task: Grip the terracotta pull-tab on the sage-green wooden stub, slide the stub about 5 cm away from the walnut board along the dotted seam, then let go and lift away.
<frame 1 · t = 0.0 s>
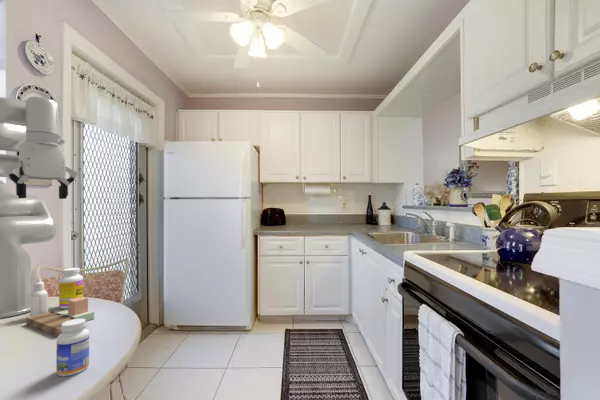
hand: (43, 198, 88), 37 cm above the table, tool pointing down, fingers open, 9 cm apart
eye dropper bottle: (39, 318, 93), on the table
pill bottle: (73, 370, 61), on the table
stub: (78, 309, 90), point 3 cm above the table, slide at 0.0 cm
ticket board: (55, 326, 85), on the table
supplement bottle: (71, 306, 103), on the table
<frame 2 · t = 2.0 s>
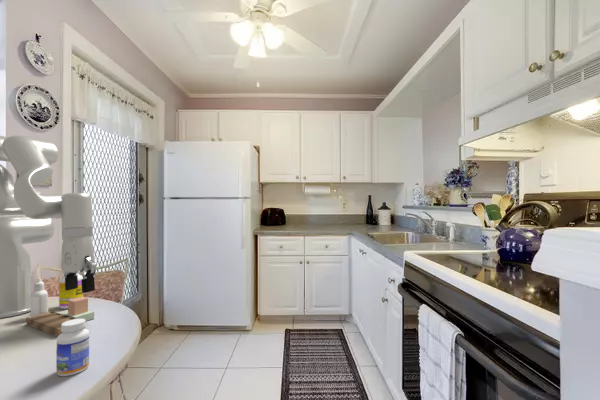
hand: (79, 290, 90), 9 cm above the table, tool pointing down, fingers open, 9 cm apart
nothing on the table moved.
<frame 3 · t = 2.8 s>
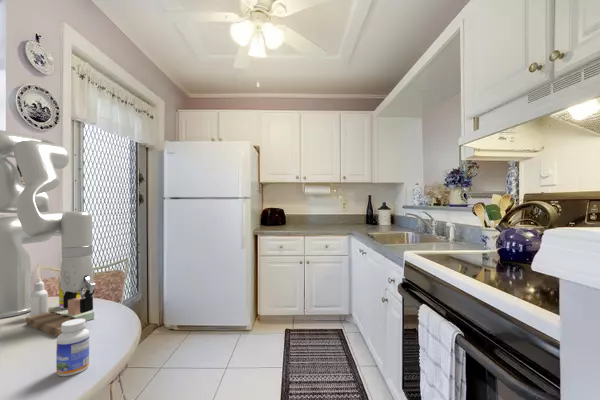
hand: (78, 309, 90), 3 cm above the table, tool pointing down, fingers open, 9 cm apart
nothing on the table moved.
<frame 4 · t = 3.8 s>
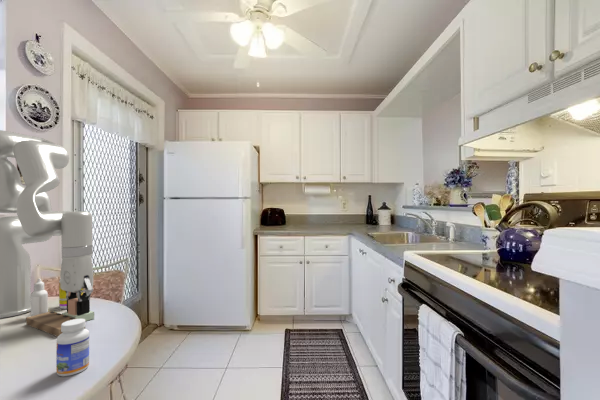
hand: (78, 311, 90), 2 cm above the table, tool pointing down, fingers closed on stub, 5 cm apart
stub: (78, 309, 90), point 3 cm above the table, slide at 0.0 cm, touching gripper
everything else where it was.
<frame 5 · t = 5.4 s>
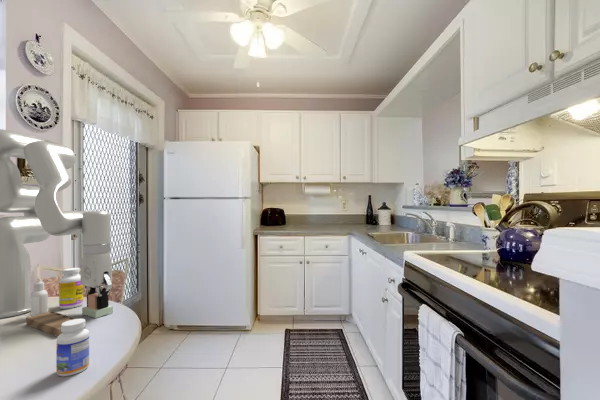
hand: (97, 306, 95), 2 cm above the table, tool pointing down, fingers closed on stub, 5 cm apart
stub: (97, 303, 95), point 3 cm above the table, slide at 5.4 cm, touching gripper
everything else where it was.
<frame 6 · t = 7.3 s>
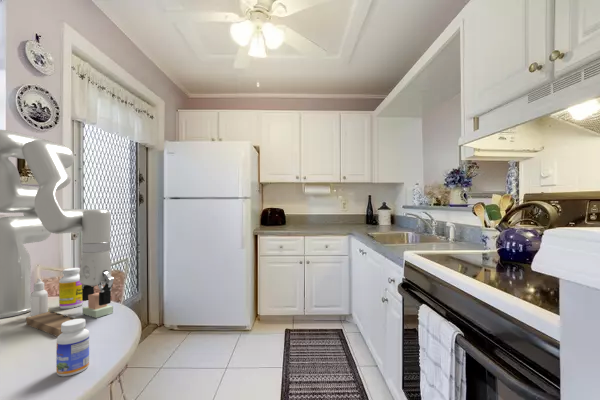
hand: (96, 302, 95), 4 cm above the table, tool pointing down, fingers open, 9 cm apart
stub: (97, 303, 95), point 3 cm above the table, slide at 5.5 cm
everything else where it was.
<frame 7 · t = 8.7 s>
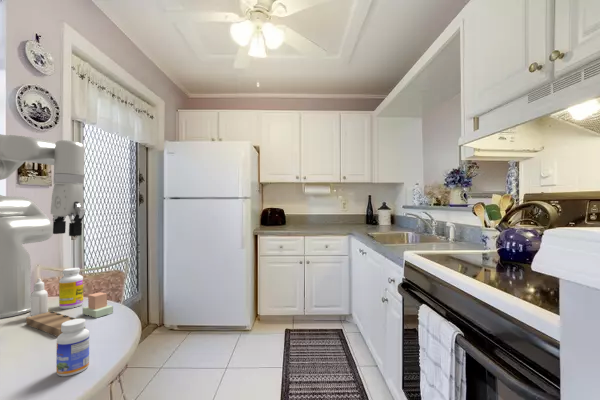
hand: (67, 234, 94), 25 cm above the table, tool pointing down, fingers open, 9 cm apart
nothing on the table moved.
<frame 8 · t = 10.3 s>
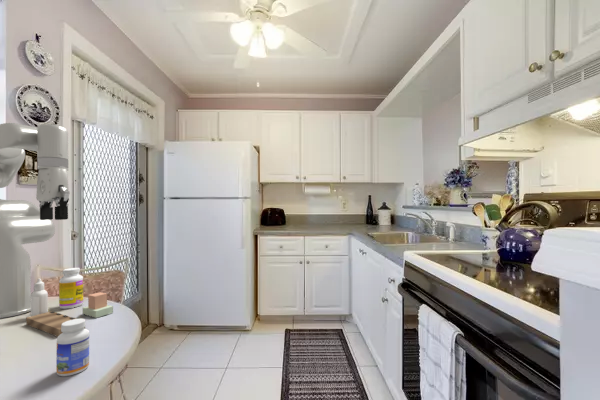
hand: (53, 219, 93), 30 cm above the table, tool pointing down, fingers open, 9 cm apart
nothing on the table moved.
at the end: stub slide at 5.5 cm; the gripper is holding nothing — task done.
